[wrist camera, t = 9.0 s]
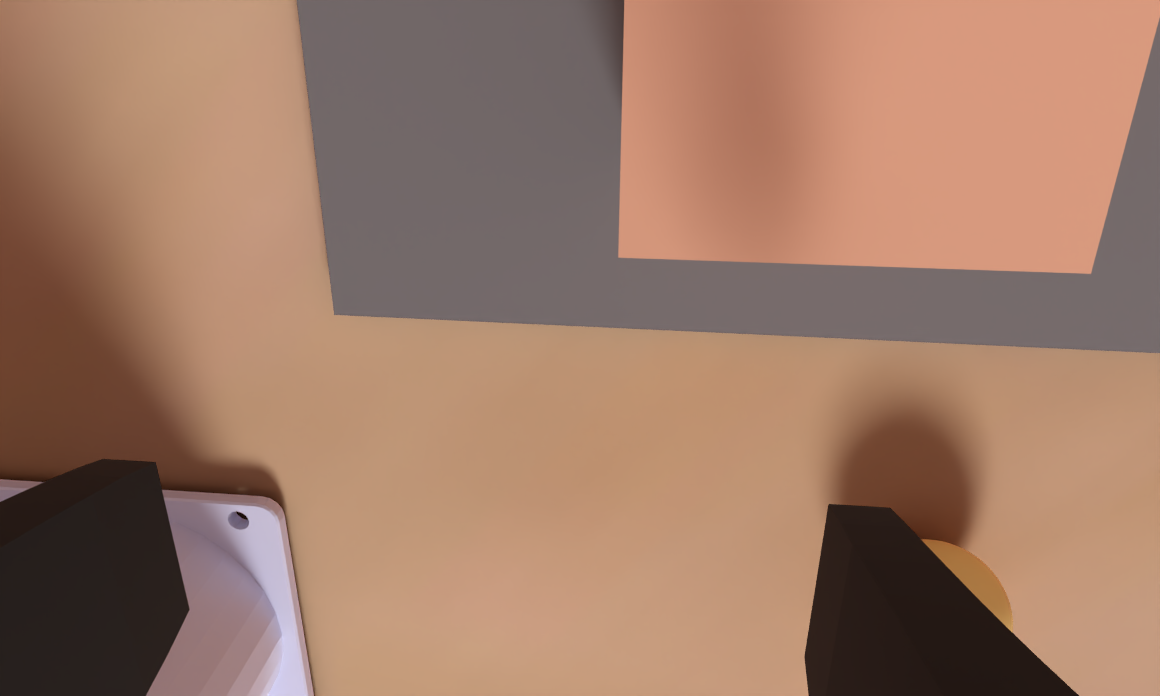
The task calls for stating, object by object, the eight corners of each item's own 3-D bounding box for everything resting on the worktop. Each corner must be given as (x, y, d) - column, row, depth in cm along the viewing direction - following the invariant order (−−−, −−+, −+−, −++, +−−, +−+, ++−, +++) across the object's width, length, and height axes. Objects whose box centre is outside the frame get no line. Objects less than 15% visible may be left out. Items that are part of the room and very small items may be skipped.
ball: (832, 615, 21) (859, 721, 18) (851, 505, 19) (883, 601, 17) (968, 624, 21) (1017, 734, 18) (996, 514, 19) (1055, 614, 16)
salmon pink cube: (635, 155, 16) (618, 257, 11) (646, -196, 14) (631, -295, 8) (943, 163, 16) (1091, 273, 10) (1009, -199, 13) (1246, -307, 8)
